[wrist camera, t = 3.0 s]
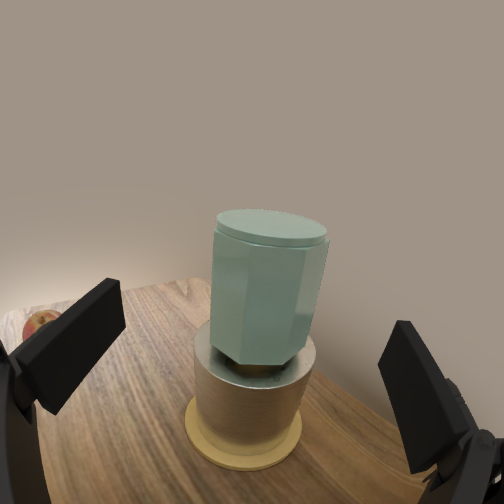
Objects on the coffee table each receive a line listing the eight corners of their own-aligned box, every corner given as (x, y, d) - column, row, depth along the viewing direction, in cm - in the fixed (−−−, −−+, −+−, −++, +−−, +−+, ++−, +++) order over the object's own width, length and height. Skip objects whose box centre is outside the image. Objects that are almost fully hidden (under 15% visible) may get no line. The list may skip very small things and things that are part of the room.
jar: (311, 364, 20) (343, 242, 16) (207, 362, 19) (212, 231, 15) (292, 311, 27) (310, 214, 24) (213, 307, 26) (219, 205, 23)
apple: (83, 373, 30) (68, 330, 27) (33, 381, 25) (12, 338, 22) (78, 338, 37) (67, 297, 34) (34, 345, 31) (19, 305, 29)
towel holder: (309, 467, 22) (404, 274, 14) (180, 467, 21) (146, 256, 12) (290, 384, 35) (329, 216, 27) (191, 380, 34) (190, 204, 26)
